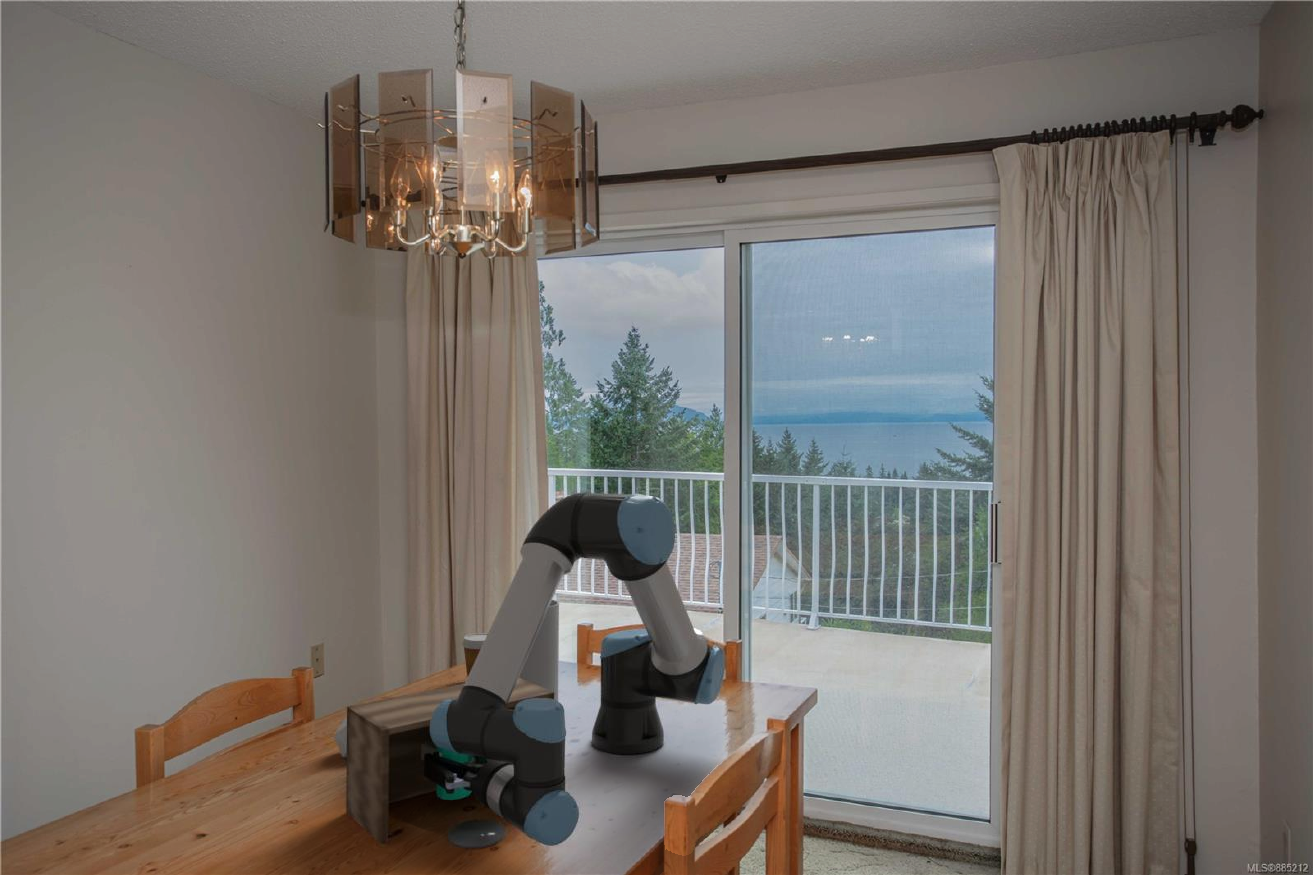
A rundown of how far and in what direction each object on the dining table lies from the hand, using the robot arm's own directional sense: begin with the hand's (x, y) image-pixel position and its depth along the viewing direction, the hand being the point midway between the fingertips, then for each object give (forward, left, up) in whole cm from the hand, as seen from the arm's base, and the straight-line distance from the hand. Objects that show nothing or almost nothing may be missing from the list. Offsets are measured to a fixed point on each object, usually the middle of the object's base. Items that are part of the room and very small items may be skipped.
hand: (439, 747), depth 154 cm
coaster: (-11, +13, -9) cm, 19 cm away
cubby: (-3, +1, -9) cm, 10 cm away
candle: (-4, +3, -7) cm, 8 cm away
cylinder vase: (-5, -51, -9) cm, 52 cm away
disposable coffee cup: (+13, -71, -9) cm, 73 cm away
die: (+23, -19, -9) cm, 31 cm away
